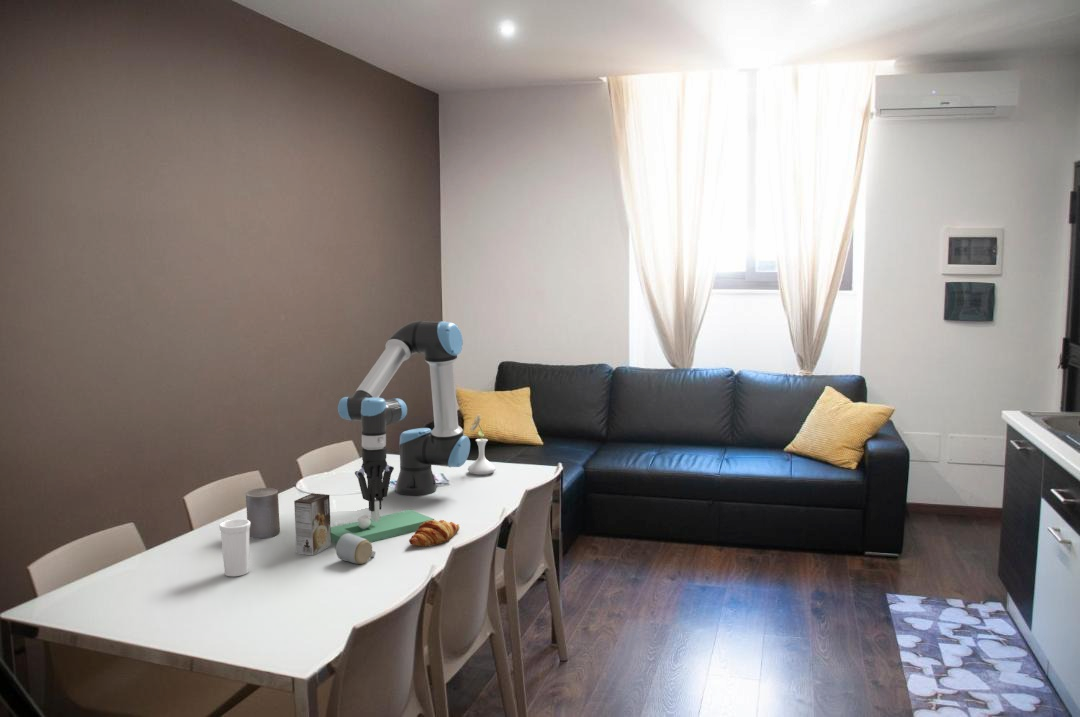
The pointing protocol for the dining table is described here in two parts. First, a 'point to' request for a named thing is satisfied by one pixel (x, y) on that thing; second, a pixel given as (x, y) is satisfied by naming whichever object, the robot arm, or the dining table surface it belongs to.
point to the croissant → (434, 533)
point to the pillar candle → (263, 512)
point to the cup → (235, 546)
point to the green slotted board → (383, 526)
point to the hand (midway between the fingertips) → (375, 520)
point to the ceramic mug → (354, 549)
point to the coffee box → (312, 524)
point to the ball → (364, 522)
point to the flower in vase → (480, 453)
